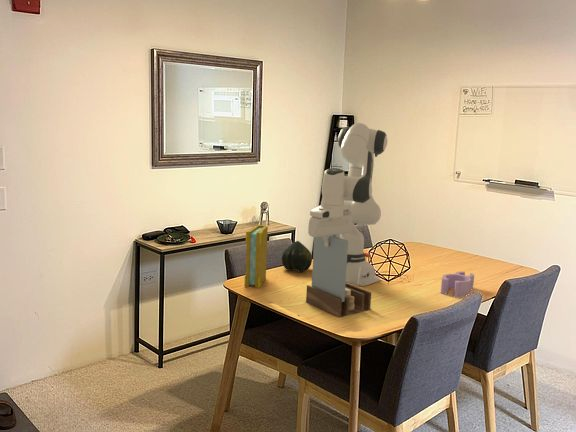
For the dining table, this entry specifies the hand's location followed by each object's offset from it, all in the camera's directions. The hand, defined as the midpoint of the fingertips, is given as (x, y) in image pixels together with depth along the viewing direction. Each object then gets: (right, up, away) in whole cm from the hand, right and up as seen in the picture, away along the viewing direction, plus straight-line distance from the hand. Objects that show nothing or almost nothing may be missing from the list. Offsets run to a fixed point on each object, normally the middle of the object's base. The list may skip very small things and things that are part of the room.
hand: (330, 245), depth 226 cm
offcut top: (+4, -20, +8) cm, 21 cm away
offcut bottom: (+4, -25, +8) cm, 26 cm away
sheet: (-1, -20, +4) cm, 20 cm away
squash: (-12, -15, +63) cm, 66 cm away
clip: (+61, -23, +40) cm, 77 cm away
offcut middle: (+4, -22, +7) cm, 24 cm away
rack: (+4, -26, +8) cm, 28 cm away
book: (-31, -19, +41) cm, 54 cm away
